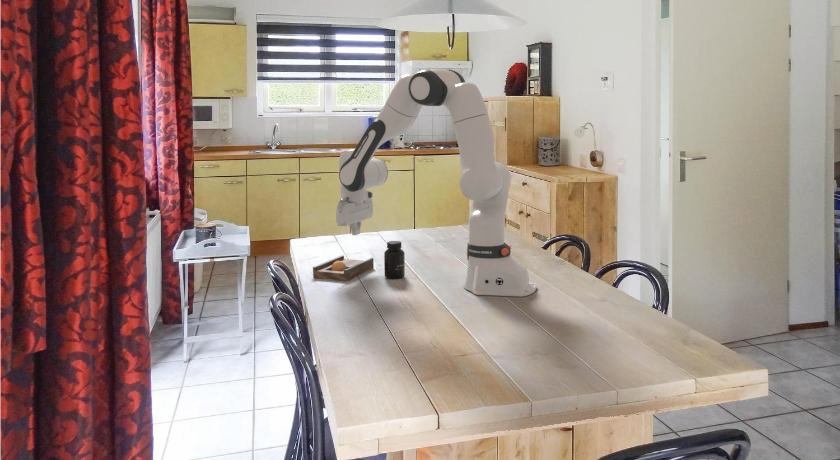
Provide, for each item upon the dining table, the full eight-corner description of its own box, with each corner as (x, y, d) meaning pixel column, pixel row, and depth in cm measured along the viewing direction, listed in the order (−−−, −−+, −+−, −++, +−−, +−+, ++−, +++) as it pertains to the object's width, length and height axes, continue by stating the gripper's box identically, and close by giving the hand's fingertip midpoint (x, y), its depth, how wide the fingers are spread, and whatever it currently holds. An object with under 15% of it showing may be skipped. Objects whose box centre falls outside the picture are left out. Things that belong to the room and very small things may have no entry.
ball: (340, 272, 225) (345, 278, 229) (344, 259, 227) (350, 265, 231) (327, 270, 227) (332, 276, 231) (332, 257, 229) (337, 263, 233)
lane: (373, 268, 238) (373, 258, 238) (346, 281, 221) (346, 270, 221) (341, 265, 243) (341, 255, 243) (313, 277, 226) (312, 267, 226)
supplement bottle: (402, 279, 222) (401, 244, 219) (382, 279, 223) (381, 243, 221) (406, 274, 228) (406, 240, 226) (387, 274, 230) (386, 239, 227)
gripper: (346, 199, 224) (349, 240, 227) (375, 192, 243) (377, 229, 245) (330, 199, 227) (333, 239, 229) (359, 192, 245) (362, 229, 247)
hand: (356, 234), depth 237 cm, fingers closed
